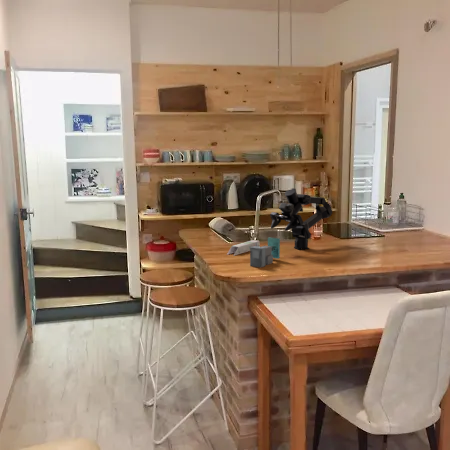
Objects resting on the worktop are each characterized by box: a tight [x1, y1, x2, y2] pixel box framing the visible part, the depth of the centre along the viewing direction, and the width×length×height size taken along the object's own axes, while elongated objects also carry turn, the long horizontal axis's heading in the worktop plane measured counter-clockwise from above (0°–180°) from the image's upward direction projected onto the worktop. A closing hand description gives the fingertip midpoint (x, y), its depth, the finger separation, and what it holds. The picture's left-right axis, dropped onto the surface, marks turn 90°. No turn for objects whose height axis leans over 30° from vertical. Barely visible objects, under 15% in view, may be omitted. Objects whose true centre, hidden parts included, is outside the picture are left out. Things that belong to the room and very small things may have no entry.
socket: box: [249, 246, 266, 268], centre depth 238 cm, size 4×6×9 cm, turn 56°
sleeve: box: [261, 245, 274, 266], centre depth 244 cm, size 6×6×8 cm
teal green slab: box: [267, 236, 281, 259], centre depth 246 cm, size 13×6×10 cm, turn 146°
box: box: [226, 239, 261, 256], centre depth 272 cm, size 4×4×28 cm
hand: (278, 229), depth 261 cm, fingers open, 9 cm apart
